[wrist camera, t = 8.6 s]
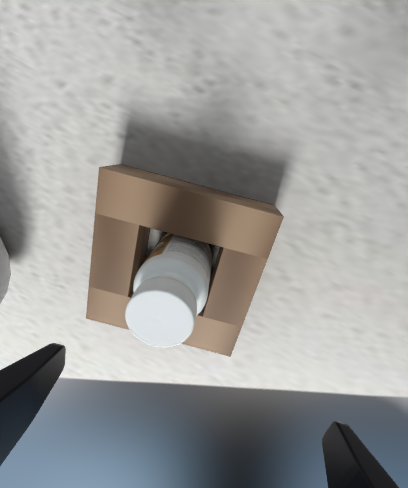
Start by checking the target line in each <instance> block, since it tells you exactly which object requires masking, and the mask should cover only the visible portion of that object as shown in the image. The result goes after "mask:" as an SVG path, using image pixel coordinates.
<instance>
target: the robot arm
mask: <svg viewBox="0 0 408 488" xmlns="http://www.w3.org/2000/svg"><path fill="white" fill-rule="evenodd" d="M65 350H66V349H65V346H63V345H60V344H56V343H52V344H49V345H47V346H45V347H43V348H41V349H40V350H38V351H36V352H34V353H32V354H30V355H28V356H26V357H24V358H23V359H21V360H19V361H17V362H15V363H13V364H11V365H9V366H7V367H5V368H4V369H2V370H0V466H1V464H2V463H3V461H4V460H5V459H6V457H7V456H8V455H9V453H10V451H11V450H12V449H13V448H14V446H15V445H16V443H17V442H18V441H19V439H20V438H21V437H22V435H23V434H24V432H25V431H26V430H27V428H28V427H29V425H30V424H31V422H32V421H33V419H34V418H35V416H36V414H37V413H38V411H39V410H40V408H41V406H42V404H43V403H44V401H45V399H46V398H47V396H48V394H49V393H50V391H51V389H52V388H53V386H54V384H55V383H56V381H57V379H58V378H59V376H60V374H61V372H62V371H63V368H64V365H65ZM322 445H323V453H324V460H325V467H326V475H327V482H328V488H399V487H398V486H397V484H396V483H395V482H394V481H393V479H392V478H391V477H390V476H389V475H388V474H387V472H386V471H385V470H384V468H383V467H382V466H381V465H380V463H379V462H378V461H377V460H376V459H375V457H374V456H373V455H372V454H371V452H370V451H369V450H368V449H367V448H366V446H365V445H364V444H363V442H362V441H361V440H360V439H359V438H358V436H357V435H356V434H355V433H354V432H353V430H352V429H351V428H350V427H349V426H348V425H347V424H345V423H342V422H338V421H333V422H332V423H331V425H330V426H329V428H328V429H327V431H326V432H325V434H324V435H323V438H322Z"/></svg>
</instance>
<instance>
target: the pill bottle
mask: <svg viewBox="0 0 408 488" xmlns="http://www.w3.org/2000/svg"><path fill="white" fill-rule="evenodd" d="M211 267H212V252H211V249H210V247H209V245H208V243H205V242H201V241H197V240H194V239H190V238H186V237H182V236H179V235H175V234H171V233H168V234H167V235H165V236H164V237H162V239H161V240H160V241H159V242H158V244H157V245H156V247H155V248H154V249H153V251H152V252H151V253H150V255H149V256H148V258H147V259H146V260H145V262H144V263H143V265H142V266H141V267H140V269H139V271H138V272H137V274H136V277H135V279H134V285H133V291H134V294H133V295H132V297H131V299H130V300H129V302H128V304H127V307H126V311H125V319H126V323H127V325H128V328H129V329H130V331H131V332H132V333H133V335H134V336H135V337H137V338H138V339H139V340H141V341H142V342H144V343H146V344H148V345H151V346H154V347H160V348H167V347H173V346H176V345H179V344H181V343H183V342H184V341H185V340H186V339H187V338H188V337H189V336H190V334H191V333H192V331H193V328H194V324H195V319H196V316H197V315H198V314H199V313H200V312H201V310H202V309H203V308H204V306H205V303H206V301H207V296H208V289H209V281H210V274H211Z"/></svg>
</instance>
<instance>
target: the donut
mask: <svg viewBox="0 0 408 488" xmlns="http://www.w3.org/2000/svg"><path fill="white" fill-rule="evenodd" d="M10 276H11V271H10V261H9V255H8V253H7V250H6V248H5V245H4V243H3V241H2V238H1V237H0V303H1V301H2V300H3V298H4V296H5V295H6V293H7V290H8V285H9V280H10Z"/></svg>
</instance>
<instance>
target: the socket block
mask: <svg viewBox="0 0 408 488" xmlns="http://www.w3.org/2000/svg"><path fill="white" fill-rule="evenodd" d="M283 217H284V216H283V215H282V214H281V213H280V212H279V210H278V209H277V208H276V207H275V206H274V205H271V204H267V203H263V202H259V201H256V200H252V199H248V198H244V197H241V196H237V195H233V194H229V193H226V192H222V191H218V190H214V189H211V188H207V187H203V186H200V185H196V184H192V183H188V182H185V181H181V180H177V179H173V178H170V177H166V176H162V175H158V174H155V173H151V172H147V171H143V170H140V169H136V168H132V167H128V166H125V165H121V164H119V165H112V166H105V167H99V176H98V187H97V199H96V210H95V222H94V233H93V245H92V256H91V268H90V279H89V290H88V302H87V313H86V318H87V319H90V320H94V321H98V322H102V323H105V324H109V325H113V326H117V327H120V328H124V329H128V330H130V329H129V328H128V325H127V323H126V319H125V311H126V307H127V304H128V302H129V300H130V299H131V297H132V295H133V294H134V291H133V285H134V279H135V277H136V274H137V272H138V271H139V269H140V267H141V266H142V265H143V263H144V260H145V255H146V249H147V243H148V238H149V232H150V228H152V229H156V230H160V231H164V232H167V233H171V234H175V235H179V236H182V237H186V238H190V239H194V240H197V241H201V242H205V243H209V244H212V245H216V246H220V249H219V253H218V256H217V259H216V263H215V266H214V269H213V273H212V276H211V280H210V283H209V289H208V296H207V301H206V303H205V306H204V308H203V309H202V310H201V312H200V313H199V314H198V315H197V316H196V319H195V324H194V328H193V331H192V333H191V334H190V336H189V337H188V338H187V339H186V340H185V341H184V342H183V343H181V344H185V345H188V346H192V347H196V348H200V349H204V350H207V351H211V352H215V353H219V354H222V355H226V356H231V354H232V351H233V348H234V346H235V343H236V341H237V338H238V335H239V333H240V330H241V327H242V325H243V322H244V320H245V317H246V314H247V312H248V309H249V306H250V304H251V301H252V299H253V296H254V293H255V291H256V288H257V285H258V283H259V280H260V278H261V275H262V272H263V270H264V267H265V264H266V262H267V259H268V257H269V254H270V251H271V249H272V246H273V243H274V241H275V238H276V235H277V233H278V230H279V228H280V225H281V222H282V220H283Z"/></svg>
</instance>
